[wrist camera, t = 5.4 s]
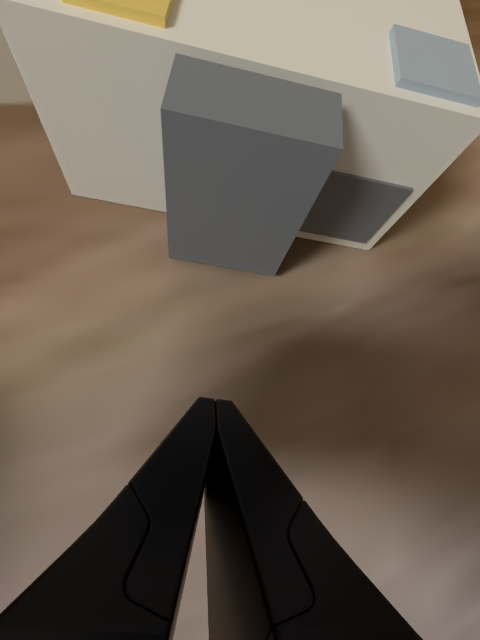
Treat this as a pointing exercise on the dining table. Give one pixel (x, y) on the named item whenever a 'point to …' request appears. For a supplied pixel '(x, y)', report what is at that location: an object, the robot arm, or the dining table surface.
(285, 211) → the plug
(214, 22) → the port box
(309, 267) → the dining table surface
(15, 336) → the dining table surface
